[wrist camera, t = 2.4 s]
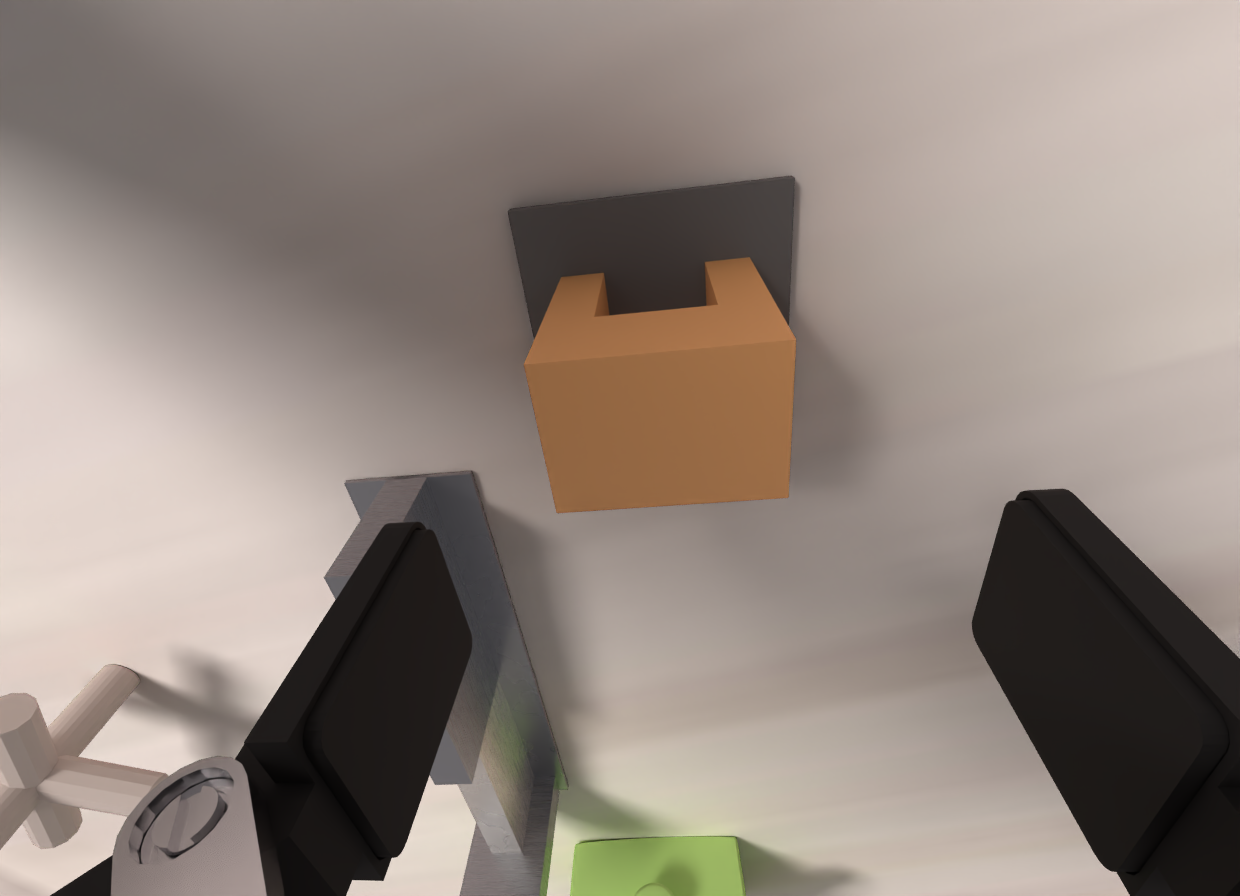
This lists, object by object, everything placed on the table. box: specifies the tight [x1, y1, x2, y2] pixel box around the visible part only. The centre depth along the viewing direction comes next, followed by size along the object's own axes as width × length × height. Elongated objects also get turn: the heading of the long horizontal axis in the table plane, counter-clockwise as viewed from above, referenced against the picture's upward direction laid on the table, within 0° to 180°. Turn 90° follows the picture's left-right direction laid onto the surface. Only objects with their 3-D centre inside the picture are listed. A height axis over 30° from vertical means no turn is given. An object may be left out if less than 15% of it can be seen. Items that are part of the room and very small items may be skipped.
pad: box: [508, 176, 795, 339], centre depth 18 cm, size 8×8×1 cm
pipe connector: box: [0, 665, 168, 850], centre depth 26 cm, size 10×10×10 cm
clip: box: [524, 257, 796, 513], centre depth 16 cm, size 4×6×6 cm
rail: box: [324, 471, 568, 896], centre depth 25 cm, size 22×5×8 cm, turn 7°
